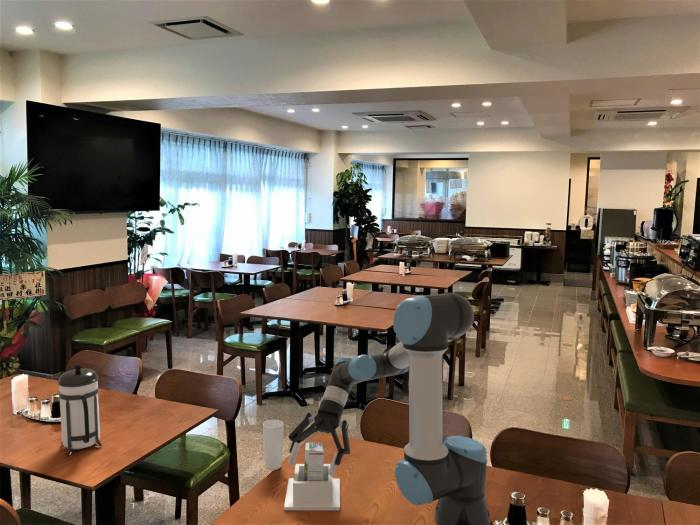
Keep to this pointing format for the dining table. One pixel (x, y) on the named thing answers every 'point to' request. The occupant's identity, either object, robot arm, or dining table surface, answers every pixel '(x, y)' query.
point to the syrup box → (314, 461)
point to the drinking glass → (273, 443)
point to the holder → (312, 492)
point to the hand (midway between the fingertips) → (309, 469)
